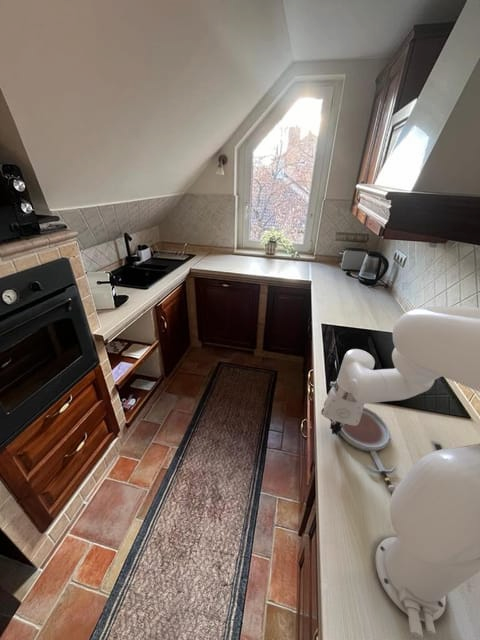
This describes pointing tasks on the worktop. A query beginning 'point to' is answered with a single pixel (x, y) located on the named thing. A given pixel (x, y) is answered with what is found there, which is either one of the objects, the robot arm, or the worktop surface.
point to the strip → (438, 447)
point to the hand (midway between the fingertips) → (334, 430)
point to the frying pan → (370, 438)
